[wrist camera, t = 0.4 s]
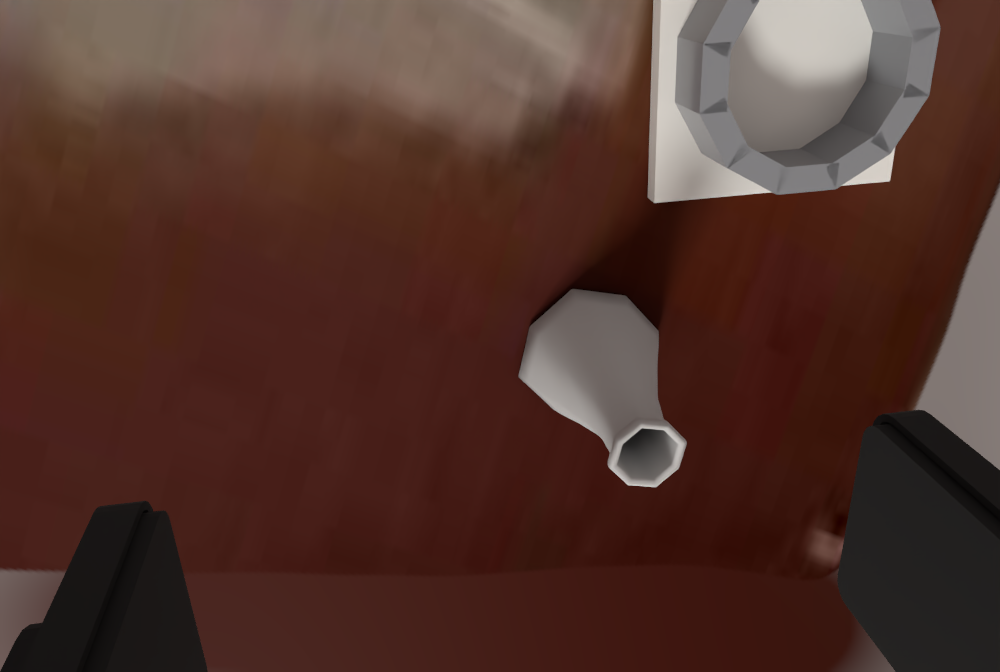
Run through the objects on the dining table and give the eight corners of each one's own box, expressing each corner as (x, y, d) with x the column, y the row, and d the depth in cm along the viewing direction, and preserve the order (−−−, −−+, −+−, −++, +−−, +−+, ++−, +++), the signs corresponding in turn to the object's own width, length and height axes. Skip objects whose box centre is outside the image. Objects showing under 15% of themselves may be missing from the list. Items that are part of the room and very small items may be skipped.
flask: (494, 381, 43) (531, 494, 34) (564, 263, 41) (624, 351, 32) (607, 430, 46) (670, 547, 37) (680, 321, 43) (765, 417, 34)
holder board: (659, -191, 33) (695, -208, 30) (934, -200, 35) (1001, -218, 31) (647, 197, 40) (676, 221, 37) (878, 176, 42) (927, 197, 38)
